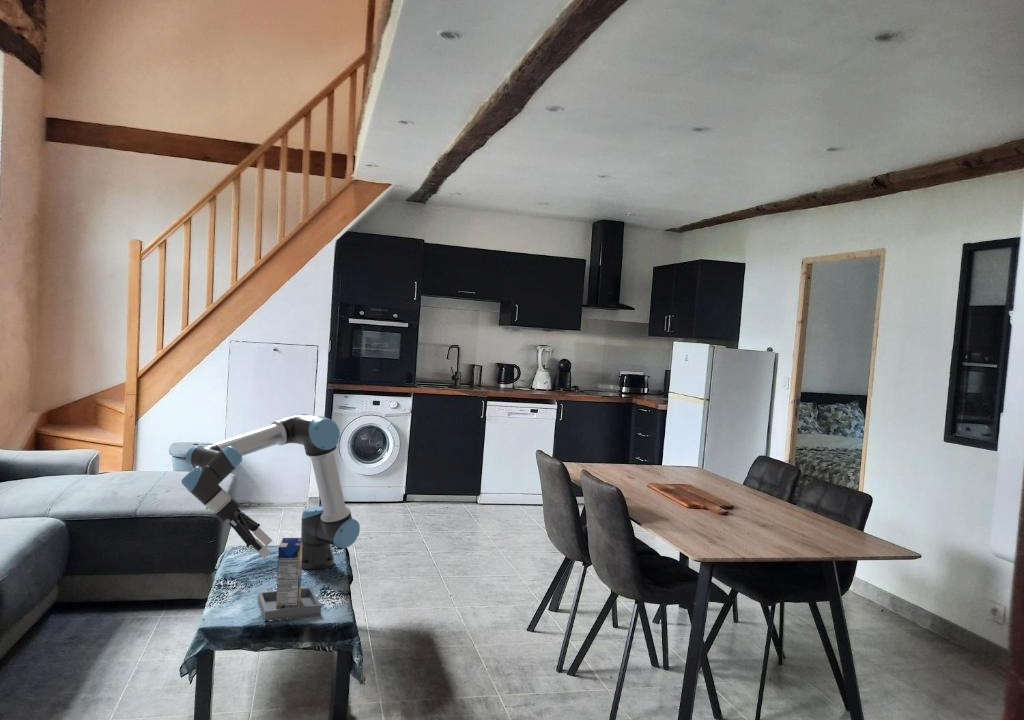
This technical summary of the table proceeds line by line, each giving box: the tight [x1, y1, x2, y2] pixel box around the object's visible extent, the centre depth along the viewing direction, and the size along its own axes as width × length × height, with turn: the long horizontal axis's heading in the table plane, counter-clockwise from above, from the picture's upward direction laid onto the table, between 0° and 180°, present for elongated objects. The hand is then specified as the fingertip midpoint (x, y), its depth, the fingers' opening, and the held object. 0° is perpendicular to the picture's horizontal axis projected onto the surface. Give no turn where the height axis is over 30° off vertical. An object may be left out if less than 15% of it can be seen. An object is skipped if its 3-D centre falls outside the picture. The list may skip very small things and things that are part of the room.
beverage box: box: [276, 537, 303, 609], centre depth 249 cm, size 7×11×22 cm, turn 11°
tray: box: [257, 586, 322, 621], centre depth 249 cm, size 18×18×4 cm
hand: (268, 549), depth 246 cm, fingers open, 13 cm apart
